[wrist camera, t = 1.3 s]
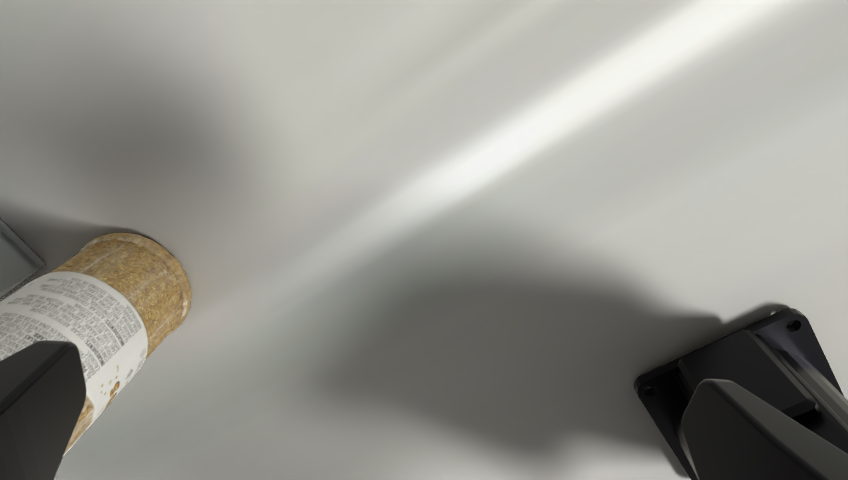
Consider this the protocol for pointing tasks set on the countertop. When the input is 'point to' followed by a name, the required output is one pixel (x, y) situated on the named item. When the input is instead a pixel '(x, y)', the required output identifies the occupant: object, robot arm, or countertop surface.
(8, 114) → the countertop surface
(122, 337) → the sprinkles bottle
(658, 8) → the countertop surface
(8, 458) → the robot arm
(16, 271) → the tray
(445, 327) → the countertop surface
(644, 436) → the countertop surface
